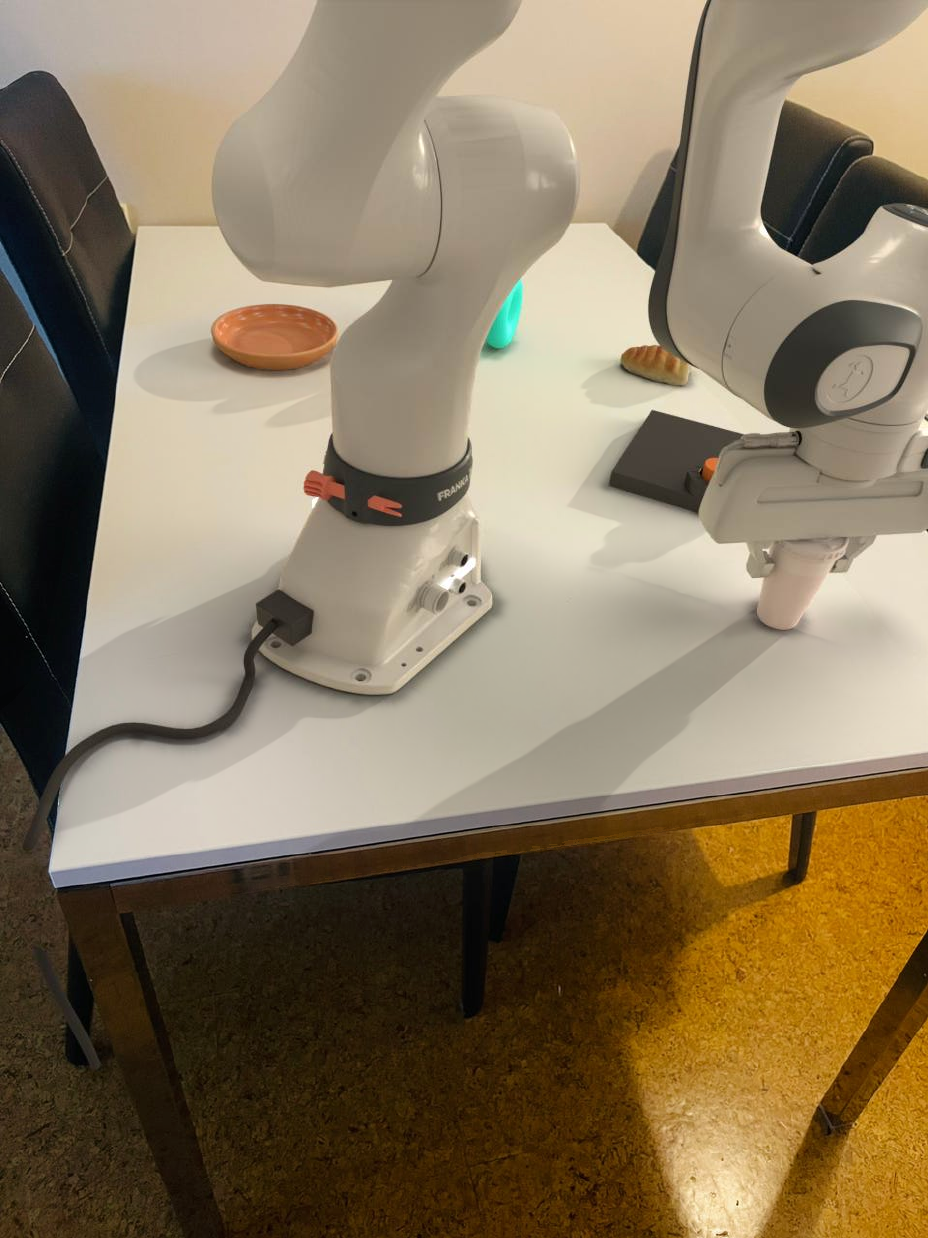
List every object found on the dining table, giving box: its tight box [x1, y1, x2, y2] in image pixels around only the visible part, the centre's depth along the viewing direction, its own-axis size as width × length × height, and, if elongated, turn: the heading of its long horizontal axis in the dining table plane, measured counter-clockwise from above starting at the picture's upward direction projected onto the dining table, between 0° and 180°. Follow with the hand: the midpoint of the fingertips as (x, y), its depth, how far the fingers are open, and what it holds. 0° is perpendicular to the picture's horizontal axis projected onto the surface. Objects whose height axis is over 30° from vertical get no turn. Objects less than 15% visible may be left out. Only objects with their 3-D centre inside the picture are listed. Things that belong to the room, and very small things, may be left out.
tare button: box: [702, 458, 718, 482], centre depth 93 cm, size 3×3×2 cm
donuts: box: [485, 278, 524, 349], centre depth 119 cm, size 10×10×10 cm
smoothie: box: [756, 537, 849, 631], centre depth 77 cm, size 6×6×14 cm
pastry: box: [620, 344, 693, 386], centre depth 117 cm, size 9×7×4 cm
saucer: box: [210, 303, 339, 371], centre depth 115 cm, size 16×16×3 cm
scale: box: [608, 409, 745, 513], centre depth 99 cm, size 16×13×4 cm
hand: (795, 571), depth 78 cm, fingers open, 6 cm apart
